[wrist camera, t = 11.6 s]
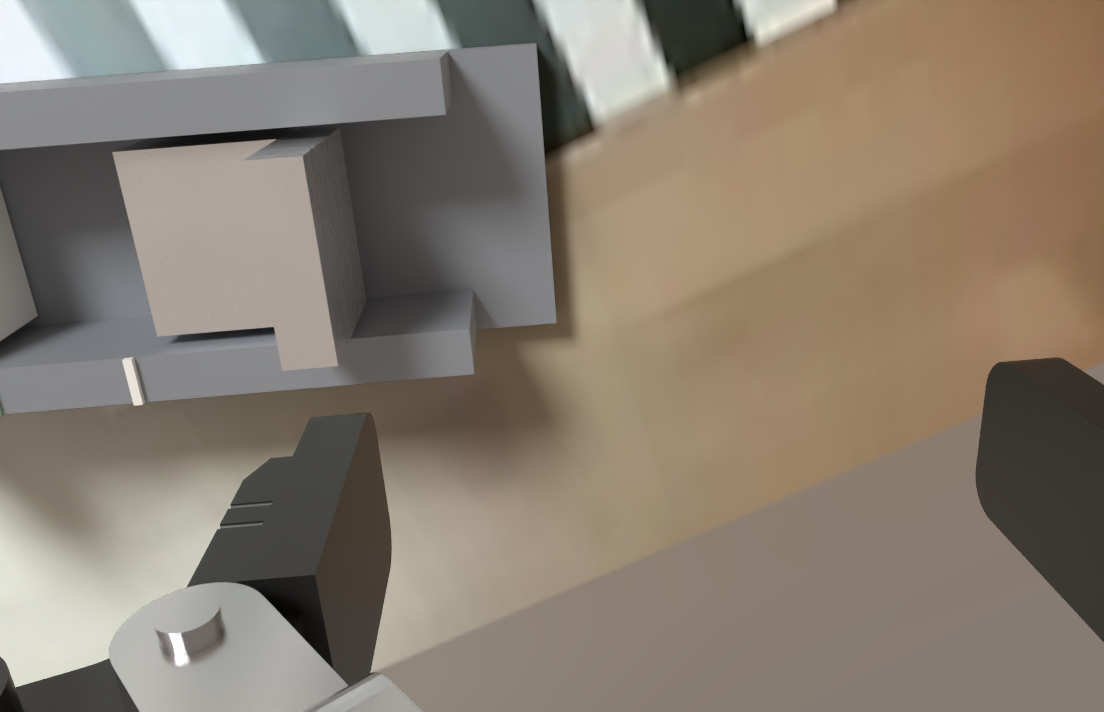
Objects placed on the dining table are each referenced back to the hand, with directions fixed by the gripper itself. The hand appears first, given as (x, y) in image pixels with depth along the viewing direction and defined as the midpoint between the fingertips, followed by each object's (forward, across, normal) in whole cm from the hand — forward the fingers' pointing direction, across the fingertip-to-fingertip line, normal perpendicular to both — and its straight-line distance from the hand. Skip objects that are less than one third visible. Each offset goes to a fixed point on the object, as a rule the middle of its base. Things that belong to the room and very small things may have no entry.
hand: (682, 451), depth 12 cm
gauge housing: (+23, +14, +1) cm, 27 cm away
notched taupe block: (+22, +11, +1) cm, 24 cm away
